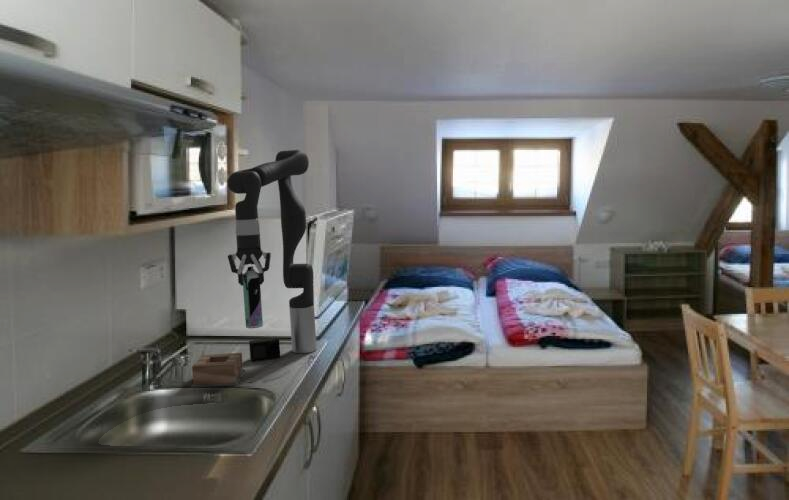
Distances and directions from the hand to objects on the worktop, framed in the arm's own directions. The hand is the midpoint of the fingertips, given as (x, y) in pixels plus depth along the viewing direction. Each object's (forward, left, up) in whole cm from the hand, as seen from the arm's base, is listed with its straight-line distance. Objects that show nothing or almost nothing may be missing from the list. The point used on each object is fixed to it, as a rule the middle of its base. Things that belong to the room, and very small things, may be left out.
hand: (251, 284), depth 200 cm
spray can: (0, 0, -14) cm, 14 cm away
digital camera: (-20, -1, -31) cm, 37 cm away
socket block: (+2, -12, -31) cm, 33 cm away
